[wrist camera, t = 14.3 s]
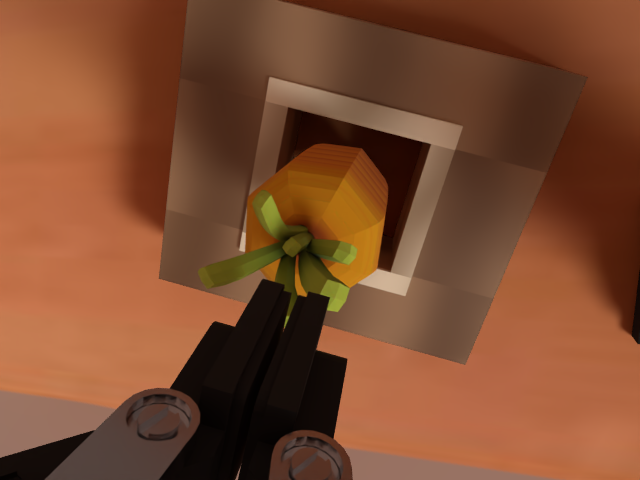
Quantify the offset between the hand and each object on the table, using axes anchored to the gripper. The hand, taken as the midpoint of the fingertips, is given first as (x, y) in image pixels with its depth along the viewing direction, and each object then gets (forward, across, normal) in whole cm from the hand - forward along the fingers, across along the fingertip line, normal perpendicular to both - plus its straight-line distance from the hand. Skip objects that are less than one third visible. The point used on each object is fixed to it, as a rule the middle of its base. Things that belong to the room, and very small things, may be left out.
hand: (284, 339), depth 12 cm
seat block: (+16, 0, 0) cm, 16 cm away
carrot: (+16, 0, 0) cm, 16 cm away
